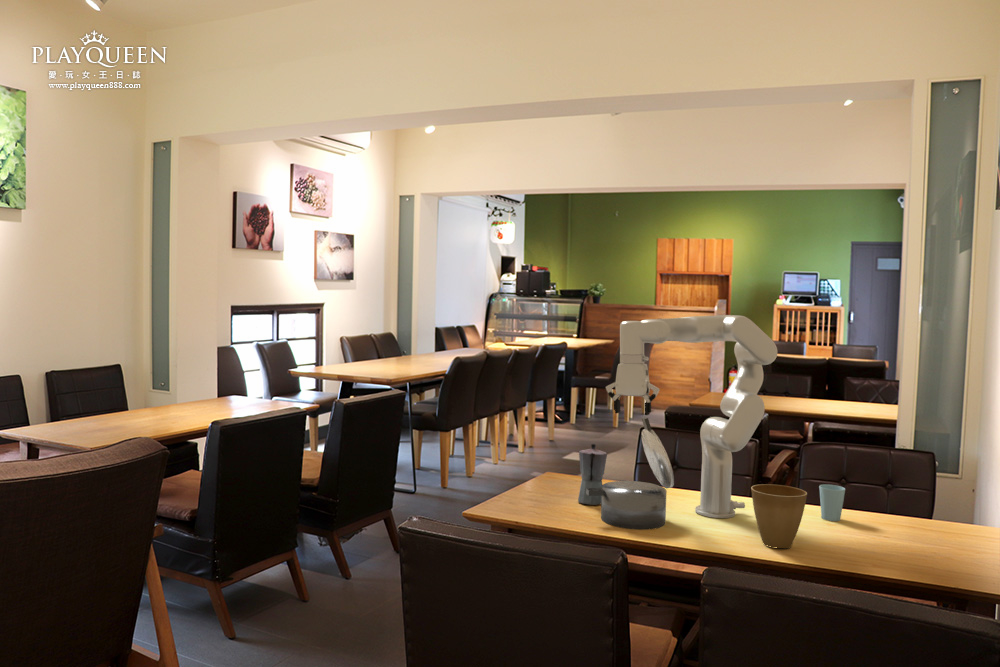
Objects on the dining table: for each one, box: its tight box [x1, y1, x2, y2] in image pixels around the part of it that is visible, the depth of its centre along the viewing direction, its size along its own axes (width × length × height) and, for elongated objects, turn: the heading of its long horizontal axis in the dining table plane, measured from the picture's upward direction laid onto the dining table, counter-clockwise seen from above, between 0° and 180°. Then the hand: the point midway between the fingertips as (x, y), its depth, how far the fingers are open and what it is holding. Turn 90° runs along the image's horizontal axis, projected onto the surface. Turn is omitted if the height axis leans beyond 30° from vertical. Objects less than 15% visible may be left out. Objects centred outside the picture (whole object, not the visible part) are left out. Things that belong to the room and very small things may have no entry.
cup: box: [818, 484, 846, 522], centre depth 236 cm, size 8×8×10 cm
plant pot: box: [750, 483, 808, 549], centre depth 207 cm, size 15×15×16 cm
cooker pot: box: [586, 480, 668, 531], centre depth 228 cm, size 25×20×10 cm
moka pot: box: [577, 443, 608, 506], centre depth 247 cm, size 10×15×20 cm, turn 174°
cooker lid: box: [641, 416, 675, 489], centre depth 229 cm, size 23×20×3 cm
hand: (632, 413), depth 230 cm, fingers open, 9 cm apart
